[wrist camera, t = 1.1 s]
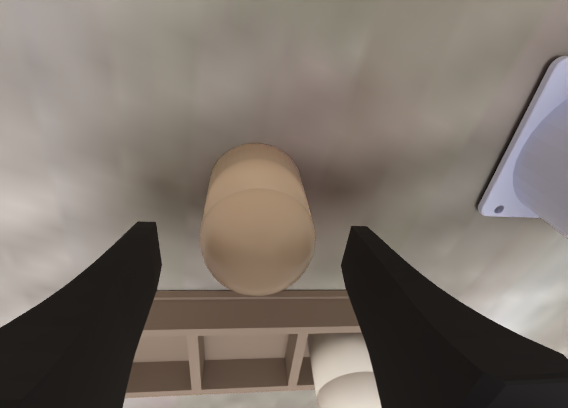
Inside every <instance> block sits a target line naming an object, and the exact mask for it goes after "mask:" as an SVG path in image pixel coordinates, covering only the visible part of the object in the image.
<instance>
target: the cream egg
mask: <svg viewBox="0 0 568 408" xmlns="http://www.w3.org/2000/svg"><path fill="white" fill-rule="evenodd" d="M307 344H308V349H309V355H310V361H311V367H312V373H313V379H314V385H315V391H316V396H317V401H318V405H319V408H382V407H381V403H380V398H379V394H378V390H377V385H376V381H375V377H374V373H373V369H372V365H371V361H370V357H369V353H368V350H367V346H366V343H365V340H364V337H363V335H362V332H361V333H314V334H308V338H307Z"/></svg>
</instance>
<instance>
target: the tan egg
mask: <svg viewBox="0 0 568 408" xmlns="http://www.w3.org/2000/svg"><path fill="white" fill-rule="evenodd" d="M200 247H201V253H202V256H203V259H204V262H205V264H206V266H207V268H208V269H209V271H210V272H211V274H212V275H213V276H214V277H215V278H216V279H217V280H218V281H219V282H220V283H221V284H222V285H224V286H225V287H227V288H228V289H230V290H232V291H234V292H237V293H240V294H243V295H249V296H265V295H270V294H274V293H277V292H280V291H282V290H284V289H286V288H288V287H289V286H290V285H292V284H293V283H294V282H296V281H297V280H298V279H299V278H300V276H301V275H302V274H303V273H304V272H305V270H306V268H307V267H308V265H309V263H310V261H311V258H312V255H313V252H314V247H315V229H314V224H313V220H312V216H311V213H310V209H309V206H308V202H307V199H306V195H305V192H304V188H303V184H302V181H301V177H300V174H299V171H298V168H297V166H296V164H295V163H294V161H293V160H292V159H291V158H290V157H289V156H288V155H287V154H286V153H285V152H283V151H282V150H280V149H278V148H276V147H273V146H271V145H267V144H260V143H251V144H244V145H241V146H238V147H235V148H233V149H231V150H229V151H228V152H226V153H225V154H224V155H223V156H222V157H221V158H220V159H219V160H218V161H217V163H216V164H215V166H214V168H213V170H212V173H211V177H210V182H209V188H208V193H207V198H206V203H205V208H204V213H203V219H202V224H201V229H200Z"/></svg>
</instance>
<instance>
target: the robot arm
mask: <svg viewBox="0 0 568 408" xmlns="http://www.w3.org/2000/svg"><path fill="white" fill-rule="evenodd" d="M496 207H497V208H496ZM495 208H496V209H495ZM478 211H479V212H480V213H481V214H482V215H483V216H496V217H529V218H542V219H543V220H544V221H546V222H547V223H548V224H549V225H551V226H552V227H553V228H554V229H556V230H557V231H558V232H560V233H561V234H562V235H563V236H565V237H566V238H567V239H568V56H561V57H559V58H557V59H555V60H554V61H553V62H552V63H551V65H550V66H549V68H548V70H547V72H546V74H545V75H544V77H543V79H542V81H541V83H540V85H539V87H538V89H537V91H536V93H535V95H534V97H533V99H532V101H531V103H530V105H529V107H528V109H527V111H526V113H525V115H524V117H523V119H522V121H521V123H520V125H519V127H518V129H517V130H516V132H515V134H514V136H513V138H512V140H511V142H510V144H509V146H508V148H507V150H506V152H505V154H504V156H503V158H502V160H501V162H500V164H499V166H498V168H497V170H496V172H495V174H494V176H493V178H492V180H491V182H490V184H489V185H488V187H487V189H486V191H485V193H484V195H483V197H482V199H481V201H480V203H479V205H478ZM161 266H162V263H161V255H160V248H159V241H158V234H157V226H156V222H137V223H136V224H135V225H134V226H133V227H132V228H130V229H129V230H128V231H127V232H126V233H125V234H124V235H123V236H122V237H121V238H120V239H119V240H118V241H117V242H116V243H115V244H114V245H113V246H112V247H111V248H109V249H108V250H107V251H106V252H105V253H104V254H103V255H102V256H101V257H100V258H98V259H97V260H96V261H95V262H94V263H93V264H92V265H90V266H89V267H88V268H87V269H86V270H84V271H83V272H82V273H81V274H79V275H78V276H77V277H76V278H75V279H73V280H72V281H71V282H70V283H68V284H67V285H66V286H64V287H63V288H61V289H60V290H59V291H57V292H56V293H54V294H53V295H52V296H50V297H49V298H47V299H46V300H44V301H43V302H41V303H40V304H38V305H37V306H35V307H34V308H32V309H30V310H29V311H27V312H25V313H24V314H22V315H21V316H19V317H17V318H16V319H14V320H12V321H11V322H9V323H8V324H6V325H4V326H2V327H1V328H0V408H123V403H124V398H125V394H126V389H127V385H128V381H129V377H130V372H131V368H132V364H133V360H134V356H135V353H136V350H137V347H138V344H139V341H140V338H141V335H142V332H143V329H144V326H145V323H146V320H147V317H148V315H149V312H150V309H151V306H152V303H153V300H154V297H155V294H156V291H157V286H158V282H159V277H160V272H161ZM341 268H342V273H343V278H344V282H345V287H346V290H347V293H348V296H349V299H350V302H351V304H352V307H353V310H354V313H355V315H356V318H357V321H358V324H359V326H360V329H361V332H362V335H363V337H364V340H365V343H366V346H367V350H368V353H369V357H370V361H371V365H372V369H373V373H374V377H375V381H376V385H377V390H378V394H379V398H380V403H381V407H382V408H568V359H567V358H566V357H565V356H564V355H563V354H561V353H559V352H556V351H554V350H552V349H550V348H548V347H545V346H543V345H541V344H539V343H536V342H534V341H532V340H530V339H527V338H525V337H523V336H521V335H519V334H517V333H515V332H513V331H511V330H509V329H507V328H505V327H503V326H501V325H499V324H497V323H496V322H494V321H492V320H490V319H488V318H486V317H485V316H483V315H481V314H480V313H478V312H476V311H475V310H473V309H471V308H469V307H468V306H466V305H464V304H463V303H461V302H460V301H458V300H457V299H455V298H454V297H452V296H451V295H449V294H448V293H446V292H445V291H443V290H442V289H440V288H439V287H438V286H436V285H435V284H433V283H432V282H431V281H429V280H428V279H427V278H426V277H424V276H423V275H422V274H421V273H419V272H418V271H417V270H416V269H414V268H413V267H412V266H411V265H410V264H408V263H407V262H406V261H405V260H404V259H403V258H401V257H400V256H399V255H398V254H397V253H396V252H395V251H394V250H392V249H391V248H390V247H389V246H388V245H387V244H386V243H385V242H384V241H383V240H381V239H380V238H379V237H378V236H377V235H376V234H375V233H374V232H373V231H372V230H370V229H369V228H368V227H367V226H351V230H350V234H349V237H348V241H347V245H346V249H345V252H344V256H343V260H342V264H341Z"/></svg>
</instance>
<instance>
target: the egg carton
mask: <svg viewBox="0 0 568 408" xmlns="http://www.w3.org/2000/svg"><path fill="white" fill-rule="evenodd" d="M314 333H361V329H360V326H359V324H358V321H357V318H356V315H355V313H354V310H353V307H352V304H351V302H350V299H349V296H348V293H347V290H301V291H280V292H277V293H274V294H270V295H265V296H249V295H243V294H240V293H237V292H234V291H156V294H155V297H154V300H153V303H152V306H151V309H150V312H149V315H148V317H147V320H146V323H145V326H144V329H143V332H142V335H141V338H140V341H139V344H138V347H137V350H136V353H135V356H134V360H133V364H132V368H131V372H130V377H129V381H128V385H127V389H126V394H125V398H136V397H158V396H180V395H203V394H225V393H247V392H269V391H292V390H314V389H315V385H314V379H313V373H312V367H311V361H310V355H309V349H308V344H307V338H308V334H314Z"/></svg>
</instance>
